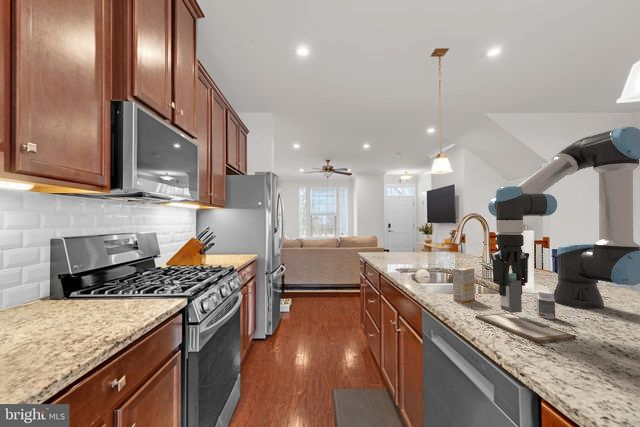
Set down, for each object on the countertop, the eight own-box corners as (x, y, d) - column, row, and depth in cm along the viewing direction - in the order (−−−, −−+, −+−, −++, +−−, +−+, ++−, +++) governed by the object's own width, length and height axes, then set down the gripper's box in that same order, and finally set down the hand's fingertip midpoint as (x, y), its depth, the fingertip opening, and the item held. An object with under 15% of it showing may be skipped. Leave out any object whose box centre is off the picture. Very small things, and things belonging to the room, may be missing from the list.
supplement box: (464, 297, 128) (463, 266, 128) (475, 300, 124) (474, 268, 124) (452, 300, 124) (452, 268, 124) (463, 302, 119) (462, 269, 120)
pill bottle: (558, 319, 98) (557, 293, 99) (542, 318, 99) (541, 293, 100) (550, 315, 103) (549, 290, 103) (535, 314, 104) (534, 290, 104)
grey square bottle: (510, 308, 100) (510, 272, 101) (521, 311, 96) (520, 274, 97) (501, 309, 99) (500, 272, 100) (511, 312, 95) (510, 274, 96)
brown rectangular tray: (507, 315, 103) (507, 310, 103) (575, 338, 82) (575, 333, 82) (475, 318, 100) (475, 313, 100) (538, 343, 79) (538, 338, 79)
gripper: (520, 233, 104) (521, 301, 103) (479, 233, 100) (480, 304, 99) (541, 233, 97) (542, 306, 96) (497, 234, 93) (499, 310, 92)
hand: (511, 305), depth 98 cm, fingers closed on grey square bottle, 4 cm apart
